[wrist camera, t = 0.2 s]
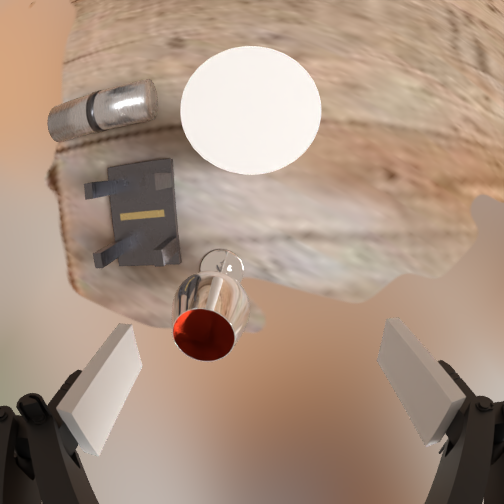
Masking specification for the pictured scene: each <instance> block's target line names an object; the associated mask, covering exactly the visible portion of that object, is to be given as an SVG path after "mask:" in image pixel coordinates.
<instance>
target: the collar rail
mask: <svg viewBox="0 0 504 504" xmlns="http://www.w3.org/2000/svg"><path fill="white" fill-rule="evenodd" d="M108 179H109V181H102V182H92V183H87V184H84V188H85V199H93V198H98V197H102V196H107V195H110V202H111V212H112V221H113V228H114V236H115V241H114V242H112V243H111V244H109V245H107V246H105V247H103V248H102V249H100V250H98V251H96V252H95V253H93V257H94V262H95V267H96V268H104V267H105V266H107V265H108V264H109V263H111V262H112V261H114V260H115V259H117V258H118V262H119V266H139V265H155V266H164V265H167V264H180V263H181V254H180V245H179V235H178V225H177V214H176V202H175V189H174V174H173V159H163V160H155V161H148V162H141V163H135V164H128V165H122V166H116V167H110V168H108Z"/></svg>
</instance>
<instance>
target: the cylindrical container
mask: <svg viewBox="0 0 504 504" xmlns="http://www.w3.org/2000/svg"><path fill="white" fill-rule="evenodd" d="M180 114H181V121H182V126H183V129H184V132H185V134H186V137H187V139H188V140H189V142H190V143H191V145H192V146H193V148H194V149H195V150H196V151H197V152H198V153H199V154H200V155H201V156H202V157H203V158H204V159H205V160H207V161H208V162H210V163H211V164H213V165H214V166H216V167H219V168H221V169H224V170H226V171H229V172H233V173H238V174H247V175H257V174H263V173H269V172H272V171H275V170H278V169H281V168H283V167H285V166H287V165H288V164H290V163H292V162H294V161H295V160H296V159H297V158H298V157H300V156H301V155H302V154H303V153H304V152H305V151H306V150H307V148H308V147H309V146H310V144H311V143H312V142H313V140H314V138H315V136H316V133H317V131H318V129H319V124H320V119H321V101H320V97H319V92H318V90H317V88H316V85H315V83H314V81H313V79H312V78H311V77H310V75H309V74H308V72H307V71H306V70H305V69H304V68H303V67H302V66H301V65H300V64H299V63H298V62H297V61H295V60H294V59H292V58H290V57H289V56H287V55H286V54H284V53H281V52H279V51H276V50H273V49H270V48H264V47H259V46H244V47H237V48H232V49H229V50H226V51H223V52H220V53H219V54H217V55H215V56H213V57H211V58H209V59H208V60H207V61H206V62H204V63H203V64H202V65H201V66H200V67H198V69H197V70H196V71H195V72H194V74H193V75H192V76H191V77H190V79H189V81H188V83H187V85H186V87H185V89H184V92H183V96H182V100H181V111H180Z"/></svg>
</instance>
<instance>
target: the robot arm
mask: <svg viewBox="0 0 504 504" xmlns="http://www.w3.org/2000/svg"><path fill="white" fill-rule="evenodd" d="M377 362H378V363H379V365H380V367H381V368H382V370H383V372H384V374H385V375H386V377H387V378H388V380H389V382H390V384H391V385H392V387H393V389H394V391H395V392H396V394H397V396H398V398H399V399H400V401H401V403H402V405H403V406H404V408H405V410H406V412H407V414H408V415H409V417H410V419H411V421H412V423H413V424H414V426H415V428H416V430H417V432H418V434H419V435H420V437H421V439H422V441H423V443H424V445H425V447H427V446H430V445H432V444H435V443H438V442H440V440H441V439H442V437H443V436H444V434H445V433H446V435H447V436H448V440H447V441H446V442H445V444H444V445H443V447H442V448H441V450H440V451H439V454H440V453H441V452H442V451H443V454H442V457H441V461H440V464H439V467H438V470H437V473H436V476H435V479H434V481H433V484H432V487H431V489H430V492H429V494H428V497H427V499H426V502H425V504H482V502H483V498H484V504H504V401H503V402H495V403H493V401H492V400H491V399H489V398H488V397H485V396H477V397H476V396H475V394H474V393H473V392H472V391H471V390H470V388H469V387H468V386H467V385H466V383H465V382H464V381H463V380H462V379H460V377H459V375H458V374H457V373H456V372H455V370H454V369H453V368H452V367H451V366H450V365H449V364H447V363H445V362H444V361H442V360H440V361H437V360H436V359H435V358H434V357H433V356H432V355H431V353H430V352H429V351H428V350H427V349H426V347H424V345H423V344H422V343H421V342H420V341H419V340H418V338H417V337H416V336H415V335H414V334H413V333H412V332H411V331H410V329H409V328H408V327H407V326H406V325H405V324H404V323H403V322H402V321H401V319H400V318H389V319H386V324H385V328H384V333H383V337H382V342H381V346H380V350H379V354H378V358H377ZM141 368H142V363H141V359H140V356H139V352H138V348H137V344H136V340H135V336H134V332H133V327H132V325H131V324H118V326H117V327H116V328H115V330H114V331H113V332H112V333H111V335H110V336H109V337H108V338H107V340H106V341H105V342H104V343H103V345H102V346H101V348H100V349H99V350H98V351H97V353H96V354H95V355H94V357H93V358H92V359H91V360H90V362H89V363H88V365H87V366H86V367H85V369H84V370H83V371H81V370H77V371H75V372H74V373H73V374H71V375H70V376H69V377H68V379H67V380H66V381H65V384H63V385H62V386H61V388H60V390H58V392H57V393H56V394H55V396H54V397H53V398H52V400H51V401H50V402H49V404H48V405H46V403H45V402H44V400H43V398H42V396H40V395H39V394H36V393H30V394H27V395H24V396H23V397H21V398H20V399H19V401H18V402H17V406H16V407H17V409H18V411H19V412H20V414H21V415H22V416H19V415H15V413H14V412H13V410H12V409H11V408H10V407H8V406H0V504H42V503H43V504H99V503H98V501H97V499H96V496H95V494H94V492H93V490H92V488H91V486H90V483H89V481H88V478H87V476H86V473H85V471H84V468H83V466H82V463H81V461H80V458H79V455H78V453H77V451H76V448H77V446H78V444H79V446H80V447H81V449H82V450H83V451H84V452H85V453H88V454H91V455H95V456H98V457H99V455H100V453H101V451H102V449H103V447H104V445H105V442H106V440H107V438H108V436H109V434H110V431H111V429H112V427H113V425H114V423H115V421H116V419H117V417H118V415H119V413H120V411H121V408H122V406H123V404H124V402H125V400H126V398H127V396H128V394H129V392H130V390H131V388H132V386H133V384H134V382H135V380H136V378H137V376H138V374H139V372H140V370H141ZM41 500H42V501H41Z"/></svg>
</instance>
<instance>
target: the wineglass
mask: <svg viewBox="0 0 504 504" xmlns="http://www.w3.org/2000/svg"><path fill="white" fill-rule="evenodd" d="M200 271H201V272H198V273H196V274H193V275H191V276H190V277H188V278H187V279H186V280H184V281H183V282H182V284H181V285H180V286H179V288H178V289H177V291H176V293H175V296H174V299H173V304H172V336H173V339H174V342H175V344H176V346H177V347H178V348H179V349H180V351H181V352H183V353H184V354H185V355H187V356H188V357H190V358H192V359H195V360H198V361H204V362H211V361H216V360H220V359H222V358H224V357H225V356H227V355H228V354H229V353H230V352H231V351H232V349H233V347H234V346H235V345H236V343H237V342H238V340H239V338H240V337H241V335H242V333H243V332H244V330H245V328H246V325H247V323H248V320H249V315H250V304H249V299H248V296H247V294H246V292H245V290H244V288H243V287H242V286H241V284H240V282H241V280H242V278H243V275H244V267H243V264H242V261H241V260H240V258H239V257H238V256H237V255H236V254H235V253H233V252H231V251H228V250H224V249H219V250H214V251H212V252H210V253H209V254H207V255H206V256H205V258H204V259H203V261H202V263H201V268H200Z"/></svg>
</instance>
